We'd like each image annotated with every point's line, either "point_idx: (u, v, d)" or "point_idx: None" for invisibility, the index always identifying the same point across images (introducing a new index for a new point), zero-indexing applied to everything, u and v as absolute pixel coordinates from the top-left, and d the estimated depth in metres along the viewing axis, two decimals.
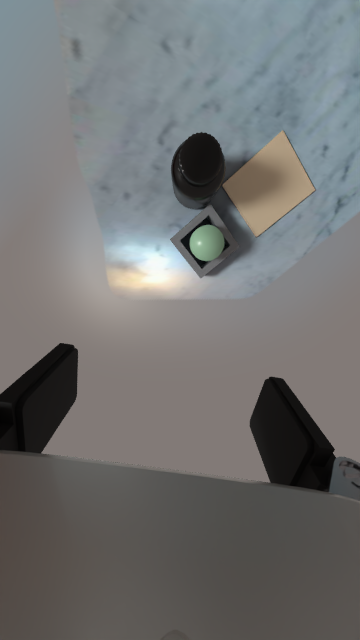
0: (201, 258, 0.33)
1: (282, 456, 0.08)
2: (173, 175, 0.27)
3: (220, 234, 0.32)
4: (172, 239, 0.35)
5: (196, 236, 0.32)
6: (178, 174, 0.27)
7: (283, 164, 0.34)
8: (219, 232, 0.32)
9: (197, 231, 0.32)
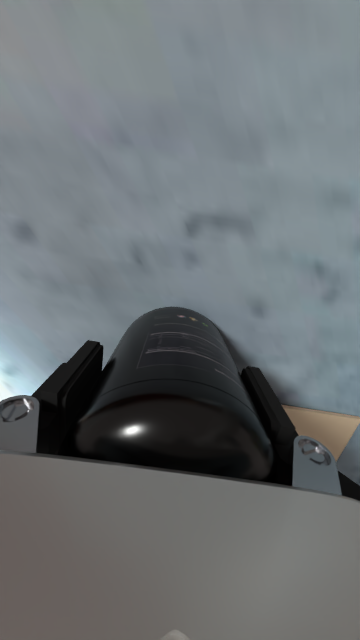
0: None
1: None
2: (66, 450, 0.06)
3: None
4: None
5: None
6: None
7: None
8: None
9: None
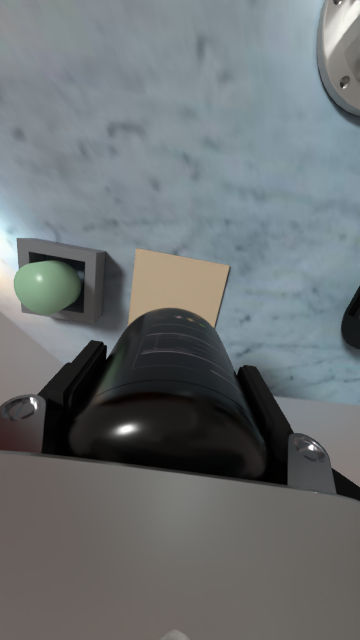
0: (20, 297, 0.21)
1: None
2: (61, 451, 0.06)
3: (64, 296, 0.21)
4: (20, 241, 0.22)
5: (32, 269, 0.20)
6: None
7: (204, 293, 0.27)
8: (65, 293, 0.21)
9: (38, 266, 0.20)
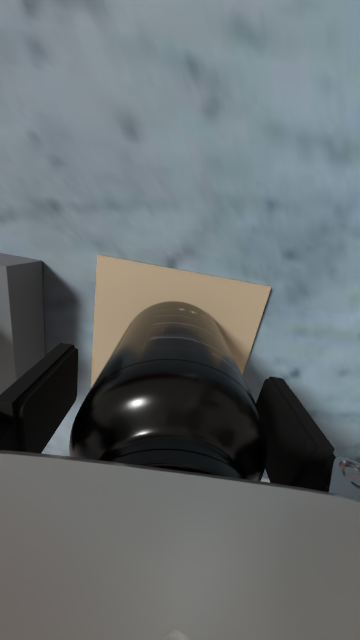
0: None
1: (281, 456, 0.08)
2: (81, 420, 0.07)
3: None
4: None
5: None
6: (89, 449, 0.06)
7: (224, 335, 0.15)
8: None
9: None
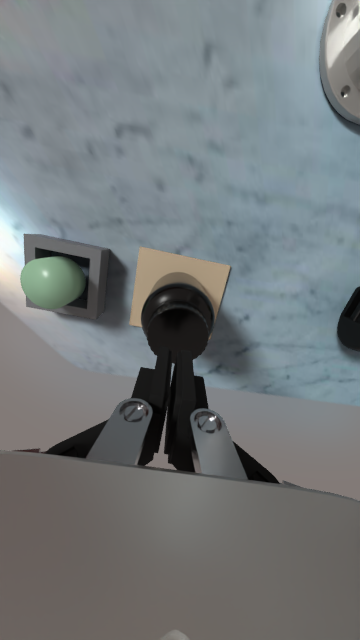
0: (26, 292, 0.22)
1: (170, 415, 0.09)
2: (148, 301, 0.19)
3: (69, 291, 0.22)
4: (26, 237, 0.23)
5: (39, 264, 0.21)
6: (152, 308, 0.19)
7: None
8: (70, 288, 0.22)
9: (45, 261, 0.21)
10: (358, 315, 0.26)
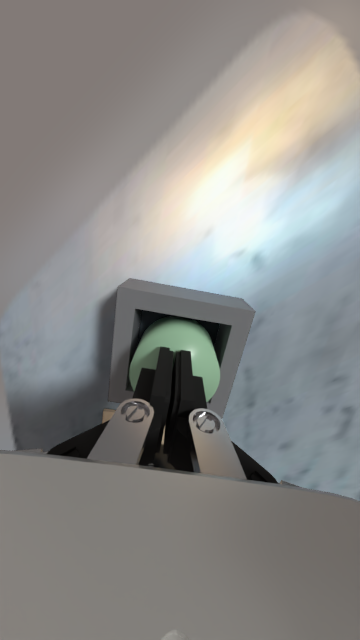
0: (159, 341, 0.11)
1: (169, 415, 0.09)
2: None
3: None
4: (249, 315, 0.13)
5: (209, 371, 0.12)
6: None
7: None
8: None
9: (214, 381, 0.12)
10: None
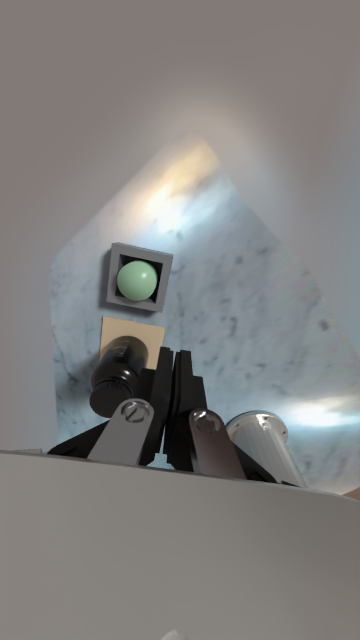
0: (129, 265, 0.28)
1: (169, 415, 0.09)
2: (129, 369, 0.28)
3: (132, 298, 0.29)
4: (170, 258, 0.29)
5: (151, 280, 0.29)
6: (124, 374, 0.28)
7: None
8: (134, 298, 0.29)
9: (153, 285, 0.29)
10: None
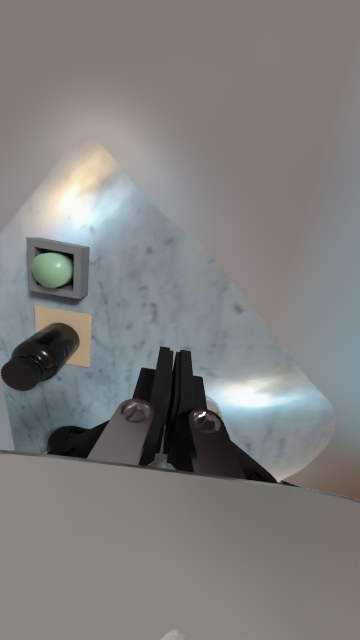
0: (40, 256, 0.32)
1: (169, 415, 0.09)
2: (42, 348, 0.32)
3: (47, 285, 0.33)
4: (79, 249, 0.33)
5: (61, 268, 0.32)
6: (37, 352, 0.31)
7: None
8: (49, 286, 0.33)
9: (64, 273, 0.32)
10: (71, 436, 0.46)
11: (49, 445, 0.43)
